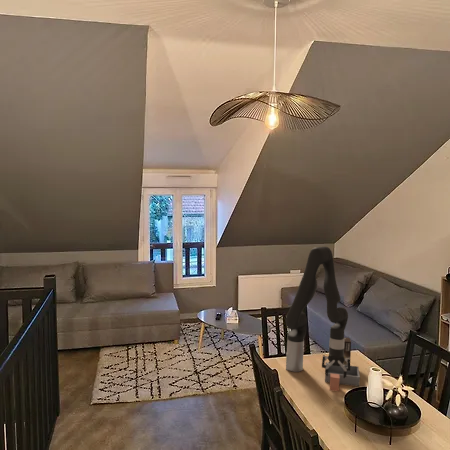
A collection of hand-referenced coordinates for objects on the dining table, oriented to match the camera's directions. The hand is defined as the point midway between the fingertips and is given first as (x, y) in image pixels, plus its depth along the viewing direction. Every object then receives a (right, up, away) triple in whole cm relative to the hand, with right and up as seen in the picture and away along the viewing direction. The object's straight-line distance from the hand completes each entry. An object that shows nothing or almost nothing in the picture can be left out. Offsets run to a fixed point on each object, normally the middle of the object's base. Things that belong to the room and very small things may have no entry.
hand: (335, 376), depth 225 cm
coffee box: (+11, -4, +29) cm, 31 cm away
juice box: (0, -7, +1) cm, 7 cm away
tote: (+7, -5, +13) cm, 15 cm away
